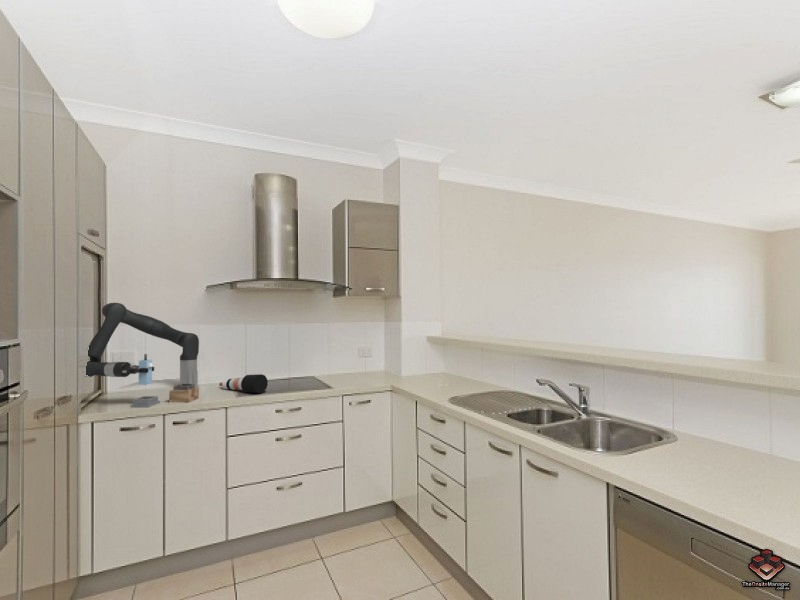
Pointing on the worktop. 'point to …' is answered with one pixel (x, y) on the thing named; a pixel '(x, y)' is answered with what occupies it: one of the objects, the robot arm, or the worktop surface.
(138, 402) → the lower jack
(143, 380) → the plug
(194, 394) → the upper stand
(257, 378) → the black and white bottle
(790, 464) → the worktop surface
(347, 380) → the worktop surface
